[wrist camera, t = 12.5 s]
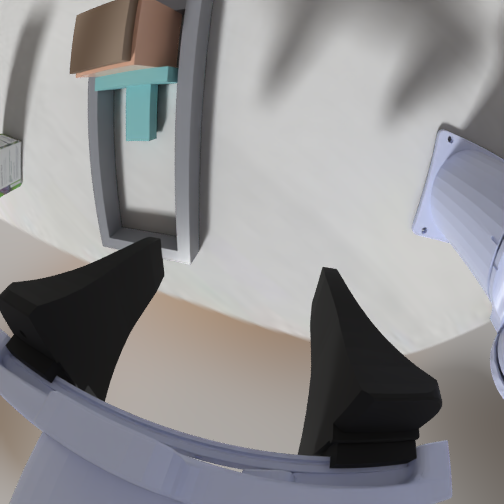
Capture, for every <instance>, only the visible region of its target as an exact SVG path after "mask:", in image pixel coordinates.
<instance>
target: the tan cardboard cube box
mask: <svg viewBox="0 0 504 504" xmlns="http://www.w3.org/2000/svg"><path fill="white" fill-rule="evenodd" d="M181 21H182V14H181V13H179V12H177V11H175V10H173V9H172V8H170V7H168V6H166V5H164V4H162V3H160V2H158V1H156V0H115V1H112V2H109V3H106V4H103V5H101V6H98V7H96V8H93V9H91V10H88V11H86V12H83V13H81V14H79V15H77V17H76V23H75V29H74V36H73V43H72V52H71V63H70V74H75V73H76V78H81V77H101V76H106V75H111V74H116V73H121V72H127V71H133V70H140V69H147V68H156V67H165V66H170V67H175V68H176V67H177V56H178V46H179V37H180V29H181Z"/></svg>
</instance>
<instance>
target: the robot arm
mask: <svg viewBox="0 0 504 504" xmlns="http://www.w3.org/2000/svg"><path fill="white" fill-rule="evenodd" d="M449 136H450V137H451V141H450V142H448V137H449ZM424 227H426V229H425V230H424V231H422V229H423V228H424ZM412 231H413V232H414V233H415V234H416V235H419V236H423V237H427V238H431V239H435V240H439V241H443V242H447V243H450V244H451V245H452V246H453V248H454V249H455V250H456V252H457V253H458V254H459V256H460V257H461V258H462V260H463V261H464V262H465V264H466V265H467V266H468V268H469V269H470V271H471V272H472V274H473V275H474V276H475V278H476V279H477V281H478V282H479V284H480V285H481V287H482V289H483V290H484V292H485V293H486V295H487V296H488V298H489V300H490V301H491V303H492V314H491V316H490V320H491V322H492V324H493V326H494V327H495V329H496V331H497V333H498V334H497V336H496V338H495V339H494V342H493V344H492V348H491V354H490V367H491V372H492V376H493V379H494V383H495V385H496V387H497V389H498V391H499V393H500V394H501V396H502V397H503V399H504V159H502V158H501V157H499V156H497V155H495V154H494V153H492V152H490V151H488V150H486V149H484V148H482V147H481V146H479V145H477V144H475V143H473V142H471V141H469V140H467V139H464V138H462V137H460V136H458V135H456V134H454V133H451V132H449V131H447V130H443V129H441V130H439V131H438V133H437V138H436V143H435V147H434V152H433V156H432V160H431V164H430V168H429V172H428V176H427V180H426V183H425V187H424V190H423V194H422V197H421V200H420V204H419V207H418V210H417V213H416V216H415V219H414V222H413V225H412ZM163 277H164V267H163V258H162V248H161V239H160V238H155V237H146V238H144V239H141V240H139V241H137V242H135V243H133V244H131V245H129V246H127V247H125V248H123V249H120V250H118V251H116V252H114V253H112V254H110V255H108V256H106V257H104V258H102V259H99V260H97V261H95V262H93V263H90V264H88V265H86V266H83V267H80V268H77V269H75V270H72V271H68V272H65V273H62V274H58V275H55V276H51V277H46V278H42V279H37V280H30V281H23V282H13V283H12V284H10V285H9V286H8V287H7V288H6V289H5V290H4V291H3V292H2V293H1V294H0V311H1V313H2V315H3V317H4V319H5V320H6V322H7V324H8V326H9V327H10V329H11V330H12V332H13V334H14V335H13V337H12V338H10V337H9V336H8V335H7V334H6V333H5V332H4V331H2V330H1V329H0V395H1V396H2V397H3V398H4V399H5V400H6V401H7V402H8V403H9V404H10V405H11V406H13V407H14V408H15V409H16V410H17V411H18V412H19V413H20V414H22V415H23V416H24V417H25V418H26V419H27V420H29V421H30V422H31V423H32V424H34V425H35V426H36V427H37V428H39V429H40V430H41V431H42V434H41V436H40V438H39V440H38V442H37V444H36V446H35V448H34V449H33V452H32V454H31V456H30V458H29V460H28V462H27V464H26V466H25V468H24V470H23V473H22V475H21V477H20V479H19V481H18V484H17V486H16V488H15V491H14V493H13V496H12V498H11V501H10V503H9V504H435V503H438V502H442V501H445V500H447V499H450V498H451V497H452V480H451V466H450V456H449V448H448V441H446V440H445V441H440V442H433V443H427V444H423V445H420V446H417V447H416V443H415V440H416V439H418V438H419V428H420V427H421V426H423V425H424V424H425V423H427V422H428V421H429V420H431V419H432V418H433V417H434V416H435V415H436V414H437V413H438V412H439V410H440V409H441V407H442V399H441V395H440V390H439V386H438V383H437V380H436V379H434V378H433V377H431V376H430V375H428V374H427V373H425V372H424V371H423V370H421V369H420V368H418V367H417V366H416V365H414V364H413V363H412V362H411V361H410V360H408V359H407V358H406V357H405V356H404V355H403V354H401V353H400V352H399V351H398V350H397V349H396V348H395V347H394V346H393V345H392V344H391V343H390V342H389V341H388V340H387V339H386V338H385V337H384V336H383V335H382V334H381V333H380V331H379V330H378V329H377V328H376V327H375V326H374V324H373V323H372V322H371V321H370V319H369V318H368V317H367V315H366V314H365V313H364V311H363V310H362V309H361V307H360V306H359V304H358V303H357V301H356V300H355V298H354V297H353V295H352V294H351V292H350V290H349V289H348V287H347V285H346V284H345V282H344V280H343V279H342V277H341V275H340V274H339V272H338V271H337V269H332V268H327V267H323V268H322V271H321V275H320V278H319V282H318V285H317V288H316V292H315V295H314V298H313V301H312V309H311V320H310V333H311V380H310V388H309V396H308V403H307V411H306V416H305V422H304V428H303V433H302V438H301V443H300V447H299V452H298V455H294V454H283V453H276V452H268V451H262V450H255V449H250V448H244V447H238V446H234V445H229V444H225V443H220V442H216V441H212V440H208V439H204V438H201V437H197V436H193V435H190V434H186V433H183V432H180V431H177V430H174V429H171V428H168V427H165V426H162V425H159V424H156V423H153V422H151V421H148V420H146V419H143V418H140V417H138V416H135V415H133V414H131V413H128V412H126V411H124V410H121V409H119V408H117V407H115V406H112V405H110V404H108V403H106V402H105V398H106V395H107V391H108V388H109V384H110V380H111V378H112V375H113V372H114V369H115V366H116V364H117V361H118V359H119V356H120V354H121V351H122V349H123V347H124V345H125V343H126V340H127V338H128V336H129V334H130V332H131V330H132V329H133V327H134V325H135V324H136V322H137V321H138V319H139V318H140V316H141V315H142V313H143V312H144V310H145V308H146V307H147V305H148V304H149V302H150V301H151V299H152V298H153V296H154V295H155V293H156V292H157V290H158V288H159V286H160V283H161V281H162V279H163ZM191 457H192V458H191ZM193 458H195V459H193ZM196 459H199V460H202V461H206V462H210V463H214V464H219V465H223V466H228V467H232V468H238V469H243V471H242V473H241V472H237V471H233V470H229V469H226V468H222V467H218V466H215V465H212V464H209V463H205V462H202V461H199V460H196Z"/></svg>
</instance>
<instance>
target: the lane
mask: <svg viewBox="0 0 504 504" xmlns="http://www.w3.org/2000/svg"><path fill="white" fill-rule="evenodd" d="M156 1H158V2H160V3H162V4H164V5H166V6H168V7H170V8H172V9H173V10H175V11H177V12H179V13H181V14H185V15H184V22H183V30H182V38H181V47H180V57H179V69H178V82H177V98H176V120H175V207H176V231H177V236H171V235H165V234H160V233H154V232H148V231H142V230H136V229H130V228H124V227H122V223H121V216H120V208H119V200H118V191H117V180H116V168H115V151H114V90H102V91H95V78H97V77H89V81H88V134H89V151H90V164H91V174H92V183H93V191H94V198H95V205H96V211H97V217H98V223H99V228H100V234H101V239H102V244H103V246H104V247H109V248H114V249H118V250H120V249H123V248H125V247H127V246H129V245H131V244H133V243H135V242H137V241H139V240H141V239H144V238H146V237H155V238H160V239H161V248H162V258H163V259H166V260H171V261H176V262H181V263H186V264H191V263H192V261H193V260H194V258H195V257H196V255H197V254H198V252H199V176H200V145H201V124H202V107H203V92H204V80H205V68H206V57H207V47H208V38H209V30H210V21H211V14H212V6H213V0H156Z"/></svg>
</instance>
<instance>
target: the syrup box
mask: <svg viewBox="0 0 504 504" xmlns="http://www.w3.org/2000/svg"><path fill="white" fill-rule="evenodd" d="M21 184H22V181H21V141H20V140H18V139H15V138H12V137H9V136H7V135H4V134H0V197H1V196H3V195H5V194H7V193H9V192H10V191H12V190H14V189H16V188H18V187H20V186H21Z"/></svg>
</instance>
